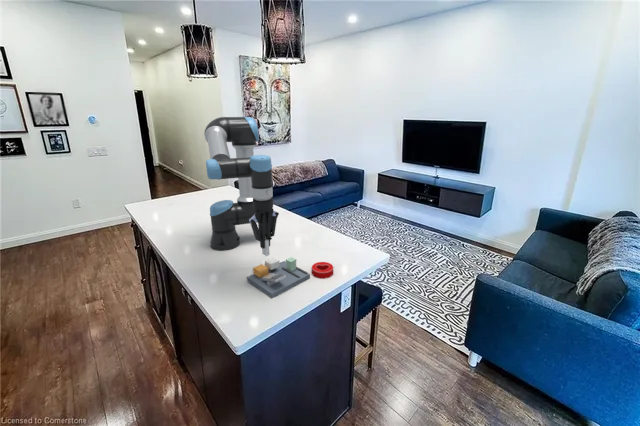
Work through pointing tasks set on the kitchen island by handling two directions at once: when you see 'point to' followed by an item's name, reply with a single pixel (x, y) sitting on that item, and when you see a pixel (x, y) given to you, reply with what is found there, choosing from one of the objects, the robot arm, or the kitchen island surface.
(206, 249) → the kitchen island surface
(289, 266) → the pale green block
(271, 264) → the button
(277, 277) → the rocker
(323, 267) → the decorative ornament
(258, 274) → the button
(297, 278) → the panel
